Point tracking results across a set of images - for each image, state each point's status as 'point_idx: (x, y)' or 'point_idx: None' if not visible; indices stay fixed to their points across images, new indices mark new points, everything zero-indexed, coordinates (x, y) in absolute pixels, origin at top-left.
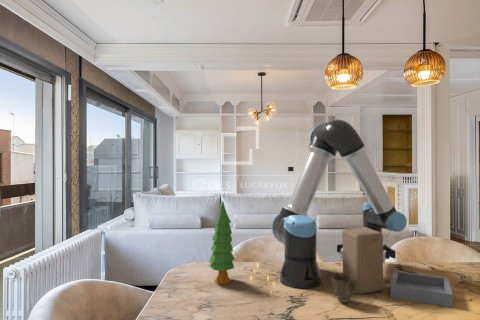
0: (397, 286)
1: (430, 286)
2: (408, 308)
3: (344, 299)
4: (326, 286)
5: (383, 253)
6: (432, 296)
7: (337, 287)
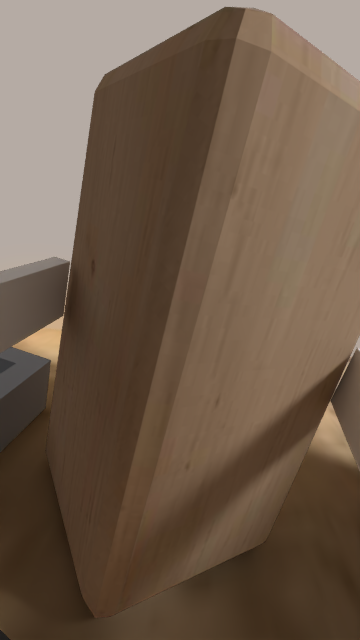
0: (22, 352)
1: None
2: (32, 349)
3: None
4: (335, 517)
5: (40, 266)
6: None
7: None
